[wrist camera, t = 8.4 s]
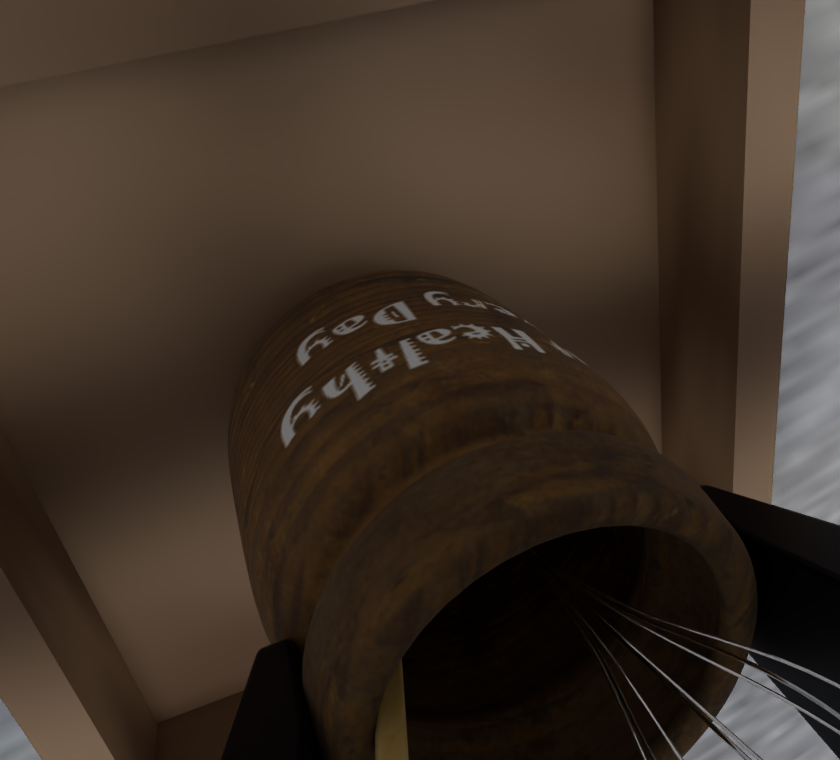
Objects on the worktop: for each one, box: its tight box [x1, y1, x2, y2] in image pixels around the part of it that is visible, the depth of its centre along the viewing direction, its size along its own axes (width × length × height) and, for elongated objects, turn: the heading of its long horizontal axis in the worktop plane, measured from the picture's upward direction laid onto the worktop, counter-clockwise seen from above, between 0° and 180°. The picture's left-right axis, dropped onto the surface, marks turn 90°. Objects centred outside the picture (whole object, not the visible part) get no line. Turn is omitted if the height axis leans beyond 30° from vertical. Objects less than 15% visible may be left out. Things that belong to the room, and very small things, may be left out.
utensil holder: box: [228, 270, 840, 760], centre depth 8 cm, size 6×6×12 cm
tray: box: [0, 0, 805, 760], centre depth 14 cm, size 15×15×4 cm
